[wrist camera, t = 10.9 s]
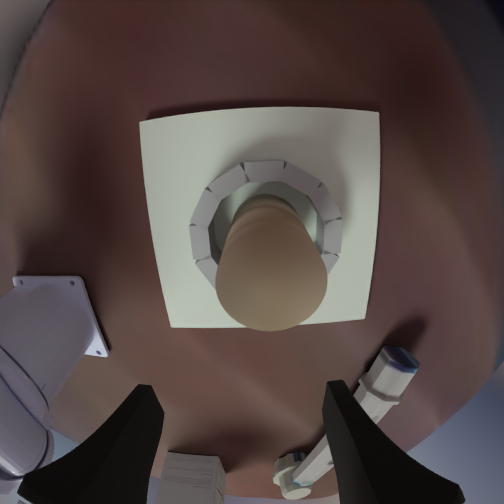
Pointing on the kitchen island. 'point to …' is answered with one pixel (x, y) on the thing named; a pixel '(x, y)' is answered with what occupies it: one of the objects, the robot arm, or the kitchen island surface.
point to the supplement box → (191, 480)
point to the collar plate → (258, 183)
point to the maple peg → (269, 267)
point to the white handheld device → (374, 404)
